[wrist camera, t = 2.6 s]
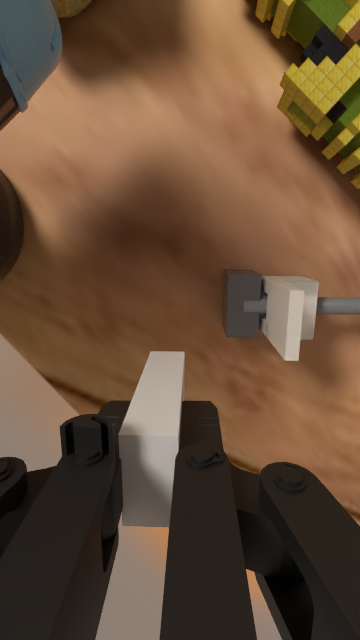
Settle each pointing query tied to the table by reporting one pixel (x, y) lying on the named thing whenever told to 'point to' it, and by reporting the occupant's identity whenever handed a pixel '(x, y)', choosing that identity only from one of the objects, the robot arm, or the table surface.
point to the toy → (322, 72)
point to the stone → (69, 7)
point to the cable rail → (263, 303)
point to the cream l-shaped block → (288, 312)
